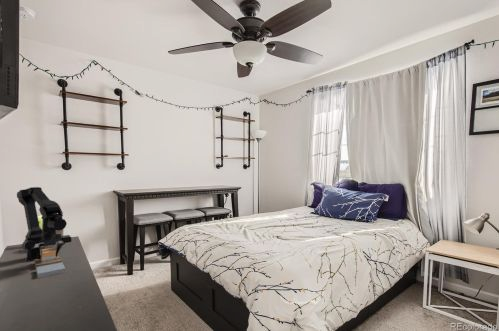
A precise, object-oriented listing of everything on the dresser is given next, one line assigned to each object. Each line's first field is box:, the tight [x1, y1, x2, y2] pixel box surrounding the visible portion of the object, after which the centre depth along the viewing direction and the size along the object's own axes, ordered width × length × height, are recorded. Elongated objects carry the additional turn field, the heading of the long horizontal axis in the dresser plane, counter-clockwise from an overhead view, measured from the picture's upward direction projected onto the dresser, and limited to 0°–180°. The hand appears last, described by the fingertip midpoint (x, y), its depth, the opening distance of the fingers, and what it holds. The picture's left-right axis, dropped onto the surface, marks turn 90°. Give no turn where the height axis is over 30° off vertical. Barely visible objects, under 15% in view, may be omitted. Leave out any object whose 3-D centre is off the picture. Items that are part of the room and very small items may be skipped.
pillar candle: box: [42, 229, 64, 249], centre depth 155 cm, size 10×10×15 cm
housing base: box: [41, 256, 56, 263], centre depth 129 cm, size 7×6×2 cm
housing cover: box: [40, 248, 56, 258], centre depth 129 cm, size 7×6×2 cm
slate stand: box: [35, 261, 66, 279], centre depth 120 cm, size 10×10×2 cm
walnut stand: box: [34, 255, 62, 269], centre depth 129 cm, size 10×10×2 cm
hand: (48, 258), depth 129 cm, fingers open, 6 cm apart
